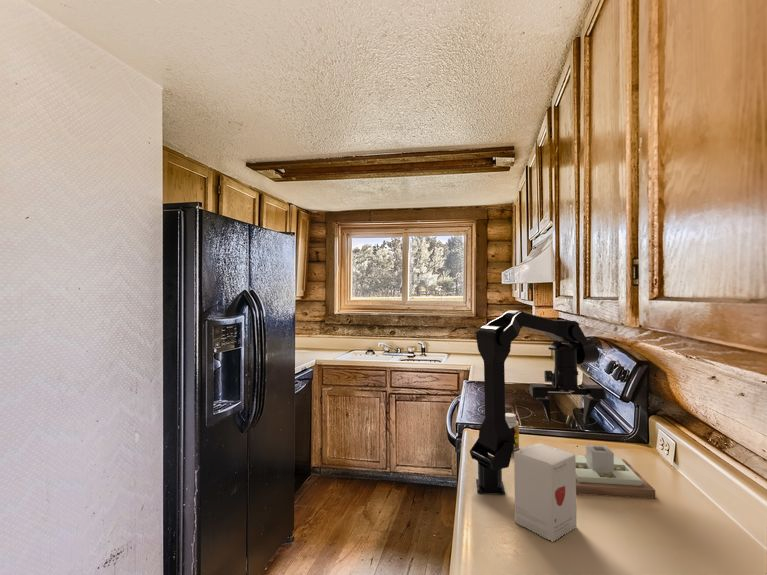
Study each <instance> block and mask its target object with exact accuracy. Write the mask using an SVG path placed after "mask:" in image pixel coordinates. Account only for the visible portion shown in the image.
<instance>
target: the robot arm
mask: <svg viewBox="0 0 767 575" xmlns="http://www.w3.org/2000/svg"><path fill="white" fill-rule="evenodd" d="M521 328H522V329H526V330H531V331H533V332H539V333H542V334H544V335H545V336H546V337H548V338H551V339H552V340H554V341H553V342H552V343H551V344H550V345H549V346H548V350H550V351H554V352H553V354H554V355H553V356H554V368H553V369H554V371H552V370H544V372H543V373H544V382H545V383H551V387H550V386H547V385H546V384H545V383H536V382H535V383H534V382H533V383H530V385H529V394H530V395H531V397H532V398H535V399H536V400H537V401H539V402H541V405H542V406H543V409H544V412H545V415H546V419H547V421H548V423H551V421H552V415H551V414H552V413H551V404H550V399H549V398H548V396H549V395H566V396H568V395H569V396H570V395H572V396H573V395H574V396H583V415H582V416H583V423H584V424H588V421H589V418H590V417H591V414H592V412H593V410H594V409H595V407H596V406H597V404H598V403H602V401H604V400H607V392H606V389H604V387H603V386H600V385H599V384H584V387H579V386H578V385H579V384H578V382H579V379H578V376H579V371H578V365H584V364H590V363H591V364H592V363H596V362H597V361H598V360H599V359H600V354H601V353H600V350H599V348H598V347H597V345H596V344H595V343H593V342H594V340H593V339H591V338H587V337H586V335H585V333H584V332H583V330H582V328H581V326H580V323H579V322H578V321H576V320H567V319H566V320H565V319H564V320H563V319H550V318H546V317H542V316H539V315H535V314H530V313H528V312H524V311H523V310H515V309H514V310H507V311H505V312H504V313H503V314H501V316H499V317H497V318H495V319H493V320H491V321H489V322H488V323H487V324H485V325H482V326H480V328H479V329H478V330H477V331H476V336H475V338H476V340H475V341H476V346H477V352H478V353H479V354H480V357H481V358H482V360H483V368H484V370H483V372H484V373H483V375H484V378H483V379H484V380H483V382H484V383H483V384H484V420H483V421H482V422H481V424H480V427H479V428H478V429H479V431H478V438H477V440H476V441H475V443H474V444H473V445H472V447H471V448H470V449H469V455H470V457H471V459H472V460H475V461H476V462H477V479H475V484H476V492H477V493H479V494H491V495H492V494H494V495H506V491H505V489H506V488H505V486H504V481H503V469H507V468H509V467H510V463H511V460H512V459H511V458H512V455H513V452H514V450H513V449H514V444H516V443H515V438H514V437H515V429H514V427H512V426H509V425H508V424H507V422H506V418H505V413H506V386H505V385H506V378H505V374H506V373H505V362H506V360H507V359H508V356H509V354H510V352H511V349H512V348H511V346H512V342H513V341H515V339H516V338H517V337H518V336H519V334H520V332H521Z"/></svg>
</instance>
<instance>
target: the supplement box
mask: <svg viewBox="0 0 767 575" xmlns="http://www.w3.org/2000/svg"><path fill="white" fill-rule="evenodd" d="M513 452H514V453H513V457H514V470H513V471H514V476H513V477H514V523H515V522H516V523H515V524H517V523H518V524H517V525H519V524H520V525H519V526H521V525H522V526H521V527H523V526H524V527H526V528H528V529H530V530H532V531H533V532H532V531H531V532H532V533H534V532H535V533H534V534H536V533H537V534H536V535H538V534H539V535H538V536H540V537H542V538H544V539H546V540H547V539H548V540H547V541H549V540H551V541H554V542H556V541H557V540H559V539H561V538H562V537H564V536H565V535H567V534H569V533H570V532H571V531H573V530H575V529H576V528H577V525H578V524H577V522H578V521H577V494H576V463H575V455H576V453H571V452H569V451H566V450H563V449H559V448H555V447H553V446H550V445H547V444H543V443H540V442H537V443H535V444H532V445H529V446H526V447H524V448H521V449H519V450H518V449H517V450H515V451H513ZM524 527H523V528H524ZM526 528H525V529H526ZM574 528H575V529H574ZM528 529H527V530H528ZM572 529H573V530H572ZM530 530H529V531H530ZM570 530H571V531H570ZM569 531H570V532H569ZM566 533H567V534H566ZM564 534H565V535H564ZM563 535H564V536H563ZM561 536H562V537H561ZM560 537H561V538H560ZM558 538H559V539H558ZM556 539H557V540H556ZM555 540H556V541H555ZM551 541H550V542H551Z"/></svg>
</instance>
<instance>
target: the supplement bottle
mask: <svg viewBox="0 0 767 575" xmlns="http://www.w3.org/2000/svg"><path fill="white" fill-rule="evenodd" d="M505 418H506V422H507V424H508V425H509V426H512V427H514V429H515V437H514V438H515V443H516V444H514V449H513V451H518V449H520V429H519V428H520V426H519V424H520V423H519V421H518V420H517V415H516V414H515V413H512V412H505Z"/></svg>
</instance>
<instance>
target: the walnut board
mask: <svg viewBox="0 0 767 575" xmlns="http://www.w3.org/2000/svg"><path fill="white" fill-rule="evenodd" d="M597 451H600V450H597ZM620 459H621V460H622V461H623V462H624V463H625V464H626V465H627V466H628V467H629V468H630V469H631V470H632V471H633V472H634V473H635V474H636V475H637V476H638V477H639V478H640V479H641V480H642V486H639V485H623V484H606V483H590V482H578V480H577V479H576V495H588V496H589V495H591V496H602V497H603V496H604V497H605V496H606V497H621V498H634V499H635V498H636V499H648V500H649V499H652V500H656V490H655V488H653V486H652V485H651V484H650V483H649V482H648V481H647V480H646V479H645V478H644V477H643V476H642V475H641V474H640V473H639V472H638V471H637V470H636V469H635V468H634V467H633V466H632V465H631V464H630V463H629V462H628V461H627V460H626V459H625V458H620ZM576 468H581V469H587V468H586V467H584V466H582V465H579V467H576ZM614 470H617V471H625V470H622V468H619V467H617V468H616V469H614ZM599 476H600V475H599ZM600 477H608V478H613V477H612V476H609V475H608V474H603V476H600Z"/></svg>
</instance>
